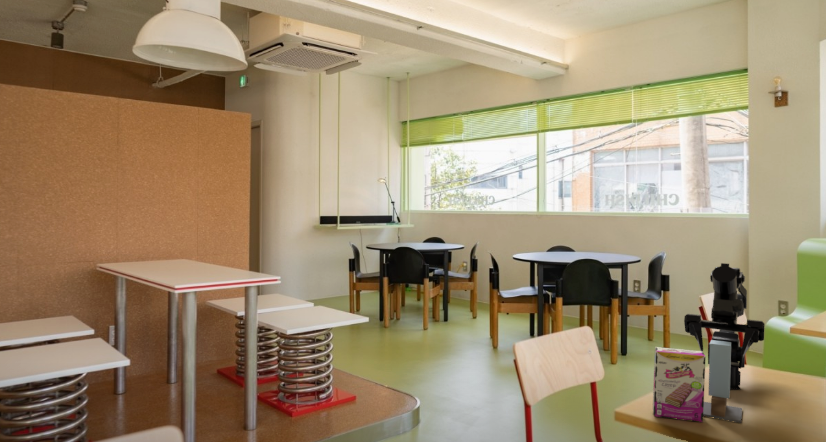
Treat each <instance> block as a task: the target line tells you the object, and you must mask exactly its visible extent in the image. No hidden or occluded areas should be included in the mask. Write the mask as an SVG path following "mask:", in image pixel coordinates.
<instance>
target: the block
mask: <svg viewBox="0 0 826 442" xmlns="http://www.w3.org/2000/svg"><path fill="white" fill-rule="evenodd" d="M709 343H710V357H709V364H708V396H711V397H712V396H716V397H722V398H727V400H728V399H730V396H731V395H730V394H731V389H730V371H731V342H725V341H716V340H712V339H711V340H710V342H709Z"/></svg>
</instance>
